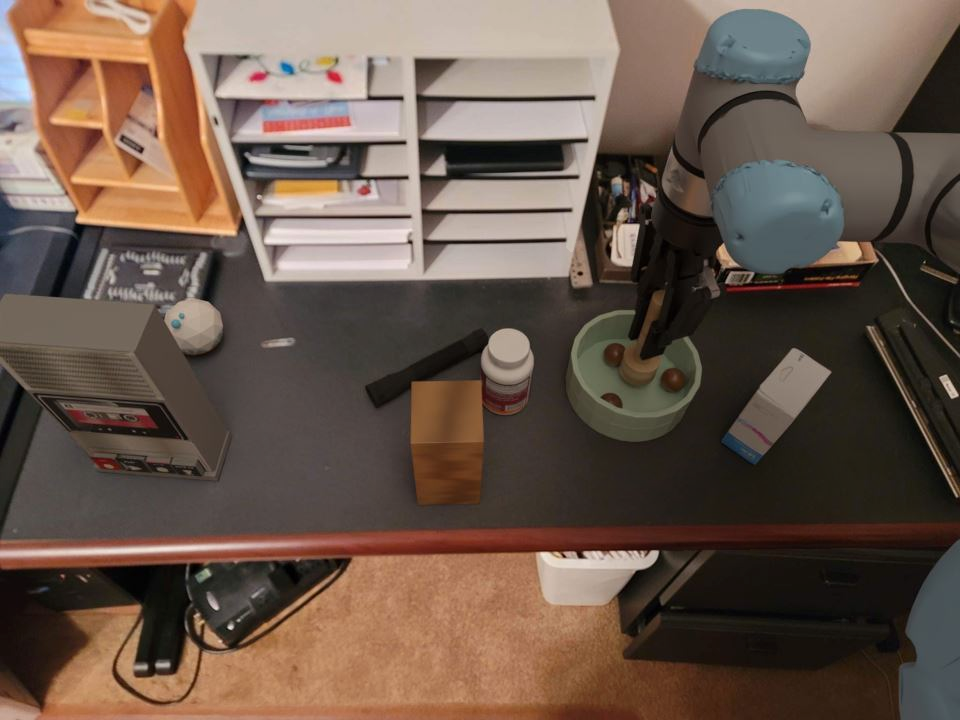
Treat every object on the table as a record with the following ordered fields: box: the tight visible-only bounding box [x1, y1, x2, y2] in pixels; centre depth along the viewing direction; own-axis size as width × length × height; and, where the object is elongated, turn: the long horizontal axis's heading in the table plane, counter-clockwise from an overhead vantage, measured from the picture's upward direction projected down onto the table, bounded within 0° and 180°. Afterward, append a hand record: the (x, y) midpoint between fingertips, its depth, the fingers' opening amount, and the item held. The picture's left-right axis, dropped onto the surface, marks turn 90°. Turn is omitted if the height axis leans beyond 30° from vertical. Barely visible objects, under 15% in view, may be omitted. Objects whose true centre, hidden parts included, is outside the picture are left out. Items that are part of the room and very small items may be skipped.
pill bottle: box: [479, 327, 535, 416], centre depth 82 cm, size 6×6×11 cm
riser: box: [409, 379, 485, 506], centre depth 74 cm, size 7×7×15 cm
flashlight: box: [364, 328, 490, 408], centre depth 87 cm, size 3×16×3 cm, turn 124°
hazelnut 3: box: [661, 368, 686, 392], centre depth 86 cm, size 3×3×3 cm
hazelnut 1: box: [603, 343, 626, 367], centre depth 88 cm, size 3×3×3 cm
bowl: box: [564, 309, 703, 443], centre depth 85 cm, size 15×15×6 cm
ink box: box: [720, 347, 832, 466], centre depth 80 cm, size 9×5×12 cm, turn 137°
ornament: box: [163, 297, 224, 356], centre depth 87 cm, size 7×7×8 cm
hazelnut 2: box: [600, 393, 623, 409], centre depth 84 cm, size 3×3×3 cm
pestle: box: [619, 289, 666, 386], centre depth 80 cm, size 4×4×14 cm
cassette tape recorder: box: [0, 293, 233, 482], centre depth 71 cm, size 14×6×25 cm, turn 86°
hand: (645, 344), depth 82 cm, fingers closed on pestle, 2 cm apart
